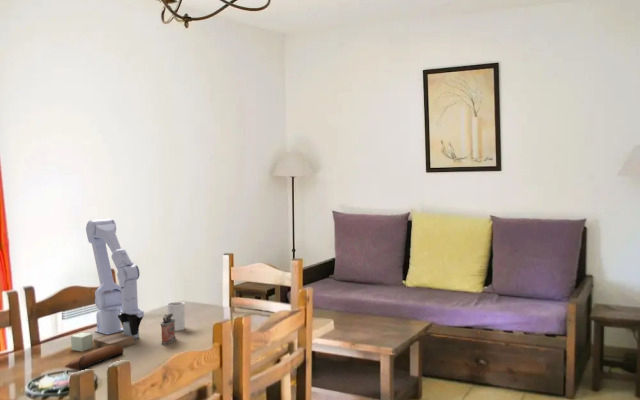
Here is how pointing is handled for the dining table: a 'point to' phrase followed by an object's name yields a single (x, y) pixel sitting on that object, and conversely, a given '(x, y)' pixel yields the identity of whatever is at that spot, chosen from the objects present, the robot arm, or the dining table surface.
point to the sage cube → (82, 341)
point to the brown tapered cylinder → (95, 356)
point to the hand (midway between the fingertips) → (131, 333)
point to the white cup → (177, 314)
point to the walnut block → (114, 340)
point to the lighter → (168, 329)
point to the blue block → (129, 330)
